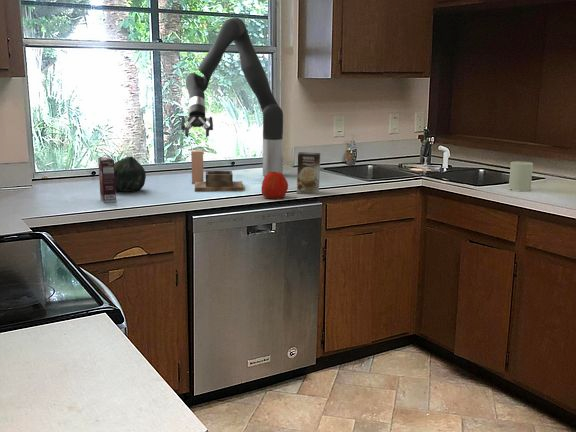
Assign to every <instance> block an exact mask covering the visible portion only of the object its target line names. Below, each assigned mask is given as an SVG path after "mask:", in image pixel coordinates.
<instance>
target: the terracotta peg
mask: <svg viewBox="0 0 576 432" xmlns="http://www.w3.org/2000/svg"><path fill="white" fill-rule="evenodd" d="M190 156H191V157H190V158H191V160H190V161H191V184H192V185H195V182H205V179H204V150H202V149H200V150H199V149H198V150H197V149H193V150H191V155H190Z"/></svg>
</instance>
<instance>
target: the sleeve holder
mask: <svg viewBox="0 0 576 432" xmlns="http://www.w3.org/2000/svg"><path fill="white" fill-rule="evenodd" d="M233 176H234V175H233V171H232V170H205V181H204V182H195V184H194V192H244V191H245V187H244V184H243V181H242V180H241V181H240V180H239V181H238V180H237V181H233V178H234V177H233Z"/></svg>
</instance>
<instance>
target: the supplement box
mask: <svg viewBox="0 0 576 432" xmlns="http://www.w3.org/2000/svg"><path fill="white" fill-rule="evenodd" d="M97 163H98V164H97V165H98V177H99V178H98V179H99V194H100V196H99V197H100V200H101V201H102V202H103V203H104V204H105V203H116V202H117V191H116V188H115V169H114V163H115V159H113V158H111V157H110V156H103V157H97Z"/></svg>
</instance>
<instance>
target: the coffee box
mask: <svg viewBox="0 0 576 432" xmlns="http://www.w3.org/2000/svg"><path fill="white" fill-rule="evenodd" d="M320 173H321V153H320V152H303V151H302V152H300V151H299V152H298V153H297V173H296V175H297V178H296V194H309V195H310V194H312V195H319V193H320V175H321V174H320Z"/></svg>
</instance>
